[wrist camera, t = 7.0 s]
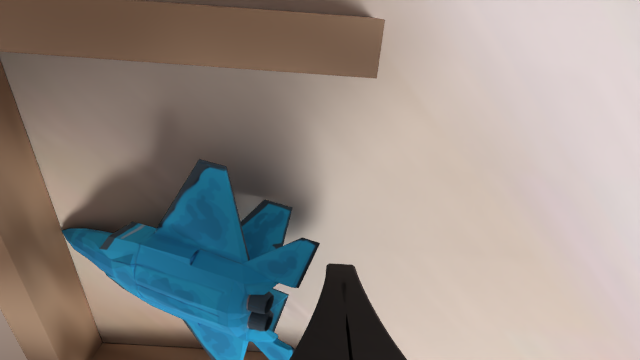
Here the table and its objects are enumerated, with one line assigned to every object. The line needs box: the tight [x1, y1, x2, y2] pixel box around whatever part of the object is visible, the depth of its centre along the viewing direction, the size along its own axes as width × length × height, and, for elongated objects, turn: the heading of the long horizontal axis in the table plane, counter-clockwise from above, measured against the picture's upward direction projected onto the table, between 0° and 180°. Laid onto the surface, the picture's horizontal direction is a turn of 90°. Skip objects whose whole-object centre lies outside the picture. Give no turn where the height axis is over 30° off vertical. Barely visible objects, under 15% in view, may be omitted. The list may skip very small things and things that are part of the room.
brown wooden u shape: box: [0, 0, 385, 360], centre depth 14 cm, size 19×14×2 cm
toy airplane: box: [62, 159, 320, 360], centre depth 14 cm, size 12×10×4 cm
